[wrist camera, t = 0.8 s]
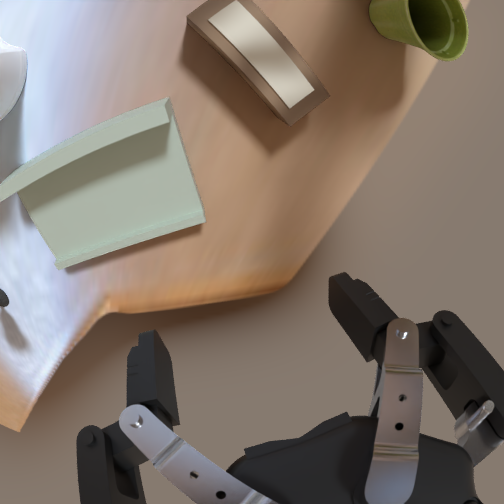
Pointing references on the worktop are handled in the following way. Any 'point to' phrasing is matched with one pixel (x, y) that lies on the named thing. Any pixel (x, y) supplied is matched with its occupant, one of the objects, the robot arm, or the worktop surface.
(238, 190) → the worktop surface
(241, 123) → the worktop surface
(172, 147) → the ledge
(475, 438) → the robot arm
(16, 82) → the jar
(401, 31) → the plant pot
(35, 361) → the worktop surface
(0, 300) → the sundae
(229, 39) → the frame
